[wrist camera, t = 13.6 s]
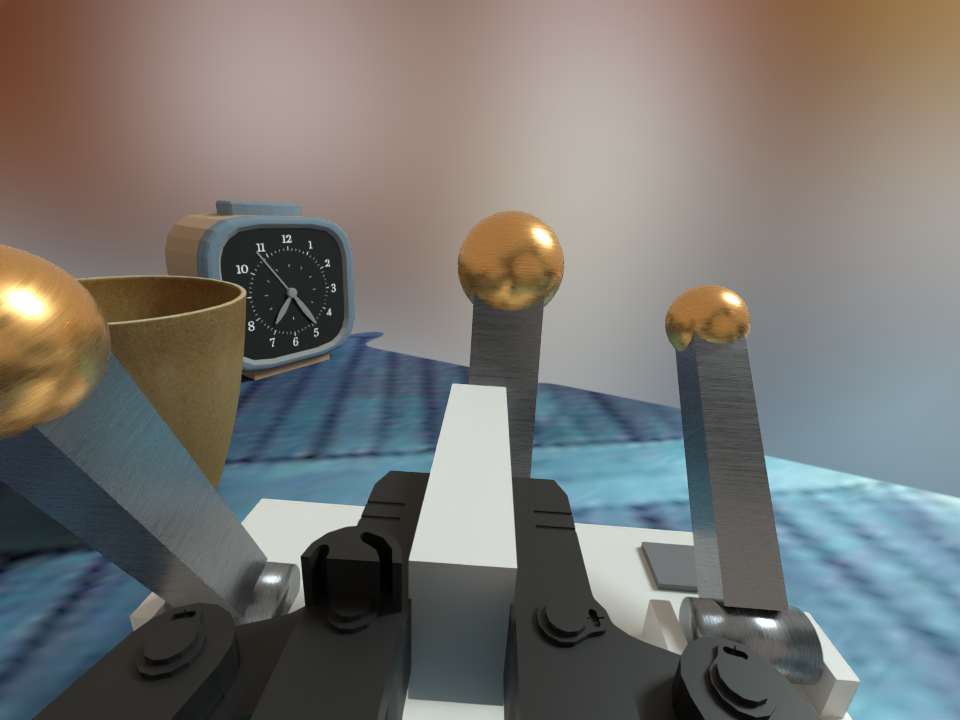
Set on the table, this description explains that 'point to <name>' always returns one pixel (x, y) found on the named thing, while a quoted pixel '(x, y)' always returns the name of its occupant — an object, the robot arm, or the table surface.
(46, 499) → the lever
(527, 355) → the lever middle
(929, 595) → the table surface
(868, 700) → the table surface
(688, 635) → the lever
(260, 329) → the alarm clock
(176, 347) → the plant pot
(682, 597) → the switch box
